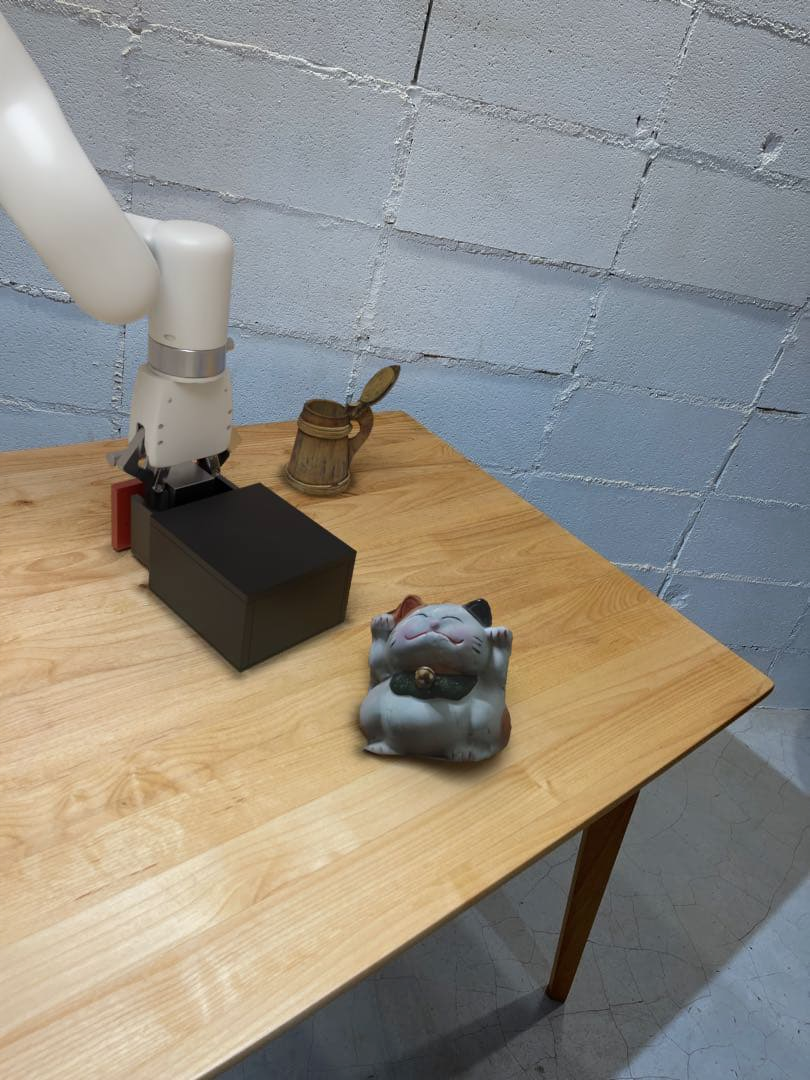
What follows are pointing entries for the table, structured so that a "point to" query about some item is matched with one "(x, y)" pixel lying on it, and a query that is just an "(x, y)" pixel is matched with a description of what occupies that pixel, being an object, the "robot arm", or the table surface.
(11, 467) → the table surface
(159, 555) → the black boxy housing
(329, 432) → the wooden mug
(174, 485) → the steel block
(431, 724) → the lucky cat figurine
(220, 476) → the drawer
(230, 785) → the table surface
